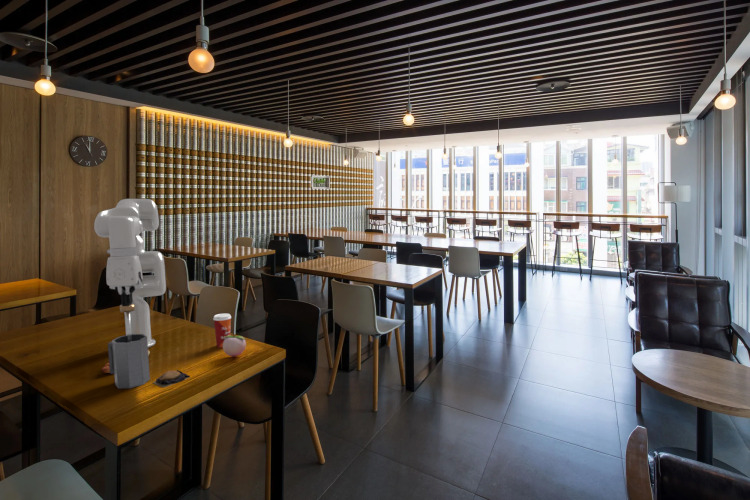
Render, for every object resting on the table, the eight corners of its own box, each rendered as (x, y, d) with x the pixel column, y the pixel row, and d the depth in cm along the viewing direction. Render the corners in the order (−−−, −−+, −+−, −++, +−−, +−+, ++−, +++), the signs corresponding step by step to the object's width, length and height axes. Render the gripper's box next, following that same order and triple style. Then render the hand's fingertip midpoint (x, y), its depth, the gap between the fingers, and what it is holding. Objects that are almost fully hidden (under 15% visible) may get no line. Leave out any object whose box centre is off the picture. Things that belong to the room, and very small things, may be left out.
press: (102, 388, 133) (99, 343, 131) (121, 376, 143) (118, 334, 141) (138, 388, 133) (135, 343, 131) (154, 376, 143) (151, 334, 141)
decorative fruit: (219, 361, 156) (218, 337, 155) (225, 354, 165) (224, 331, 163) (243, 360, 157) (242, 336, 156) (248, 353, 165) (247, 330, 164)
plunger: (112, 359, 133) (108, 307, 131) (127, 351, 141) (123, 302, 139) (135, 359, 133) (131, 307, 131) (147, 351, 141) (144, 302, 139)
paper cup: (226, 349, 170) (224, 318, 169) (210, 347, 172) (209, 317, 170) (236, 343, 178) (234, 313, 176) (221, 342, 179) (219, 312, 178)
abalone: (163, 390, 133) (163, 380, 133) (151, 384, 138) (150, 374, 137) (192, 378, 142) (192, 369, 142) (180, 373, 147) (179, 363, 146)
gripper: (93, 254, 129) (98, 307, 131) (138, 253, 129) (142, 307, 131) (109, 251, 137) (113, 302, 139) (151, 251, 137) (154, 302, 139)
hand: (127, 304), depth 135 cm, fingers closed
